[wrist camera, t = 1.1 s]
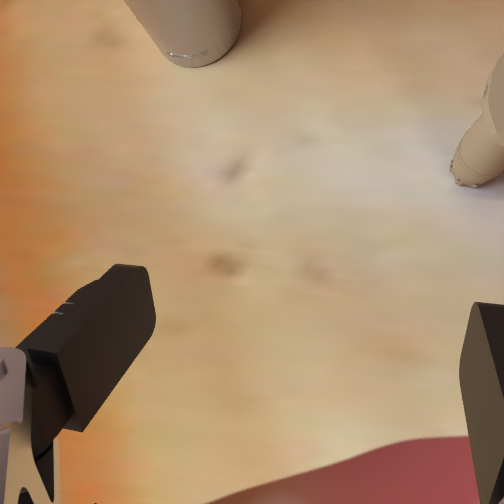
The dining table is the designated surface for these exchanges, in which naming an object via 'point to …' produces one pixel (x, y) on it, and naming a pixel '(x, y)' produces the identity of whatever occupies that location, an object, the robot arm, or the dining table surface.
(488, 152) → the handle
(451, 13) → the dining table surface
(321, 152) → the dining table surface
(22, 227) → the dining table surface
